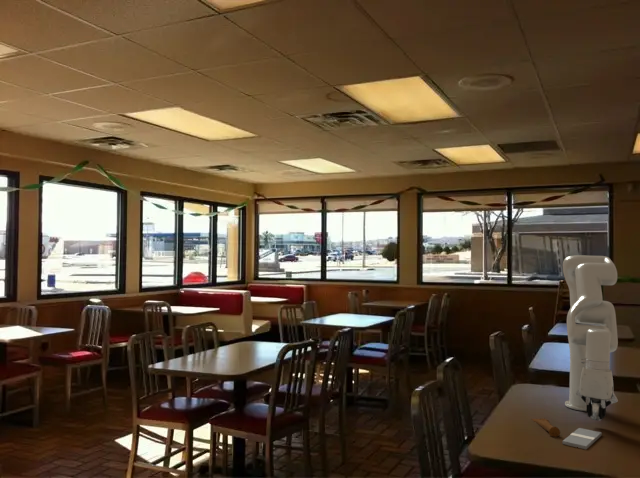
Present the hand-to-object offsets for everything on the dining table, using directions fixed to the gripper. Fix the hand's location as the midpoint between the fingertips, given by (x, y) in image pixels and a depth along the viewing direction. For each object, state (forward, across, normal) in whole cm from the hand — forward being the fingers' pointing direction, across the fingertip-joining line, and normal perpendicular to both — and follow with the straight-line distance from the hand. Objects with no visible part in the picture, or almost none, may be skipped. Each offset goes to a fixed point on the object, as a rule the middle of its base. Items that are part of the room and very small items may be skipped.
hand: (595, 416), depth 199 cm
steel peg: (+1, 0, 0) cm, 1 cm away
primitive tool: (+4, -13, -14) cm, 19 cm away
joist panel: (+3, 0, -18) cm, 18 cm away
